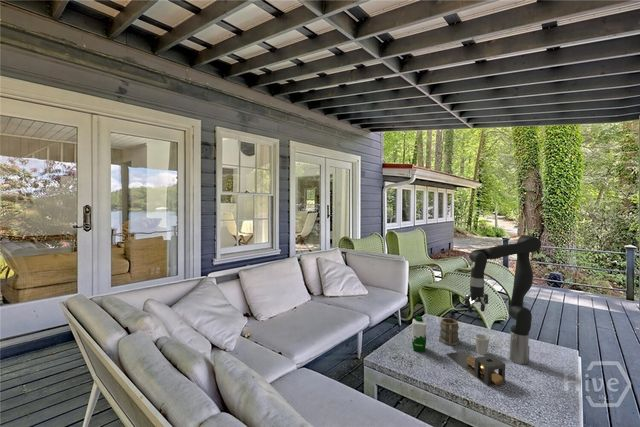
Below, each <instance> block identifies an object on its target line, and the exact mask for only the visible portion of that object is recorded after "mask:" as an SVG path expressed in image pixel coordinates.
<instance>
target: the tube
mask: <svg viewBox="0 0 640 427" xmlns="http://www.w3.org/2000/svg"><path fill="white" fill-rule="evenodd" d="M475 358H476V357H474V356H472V355H468V357H467V358H466V363H467V364H469V365H470V366H471V367H473V368H474V369H475ZM484 368H485V366H484V365H483V364H481V374H482V375H484ZM491 381H492V382H493V383H495V384H496V385H495V386H501V385H503V384H504V383H503V381H504V379H503V377H502V376H500V375H499V374H498V372H496V371H495V372H494V371H493V370H491ZM502 383H503V384H502Z"/></svg>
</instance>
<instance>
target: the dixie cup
mask: <svg viewBox="0 0 640 427" xmlns="http://www.w3.org/2000/svg"><path fill="white" fill-rule="evenodd" d="M474 337H475V338H474V339H475V347H476V348H475V349H476V354H479V355H483V356H486V355H487V354H488V348H489V342H490V336H488V335H485V334H482V333H481V334H480V333H478V334H475V335H474Z"/></svg>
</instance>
